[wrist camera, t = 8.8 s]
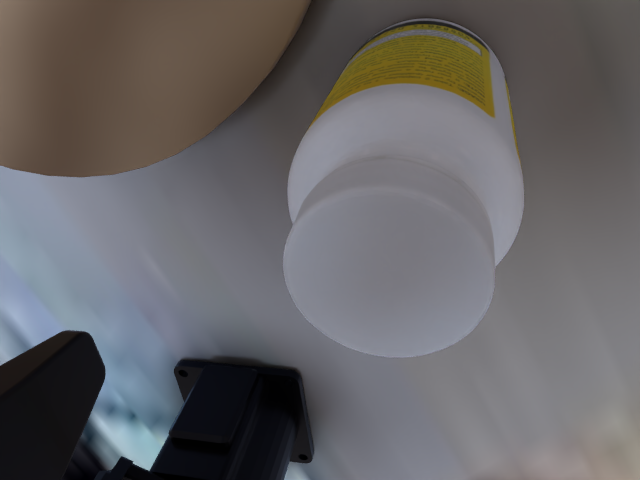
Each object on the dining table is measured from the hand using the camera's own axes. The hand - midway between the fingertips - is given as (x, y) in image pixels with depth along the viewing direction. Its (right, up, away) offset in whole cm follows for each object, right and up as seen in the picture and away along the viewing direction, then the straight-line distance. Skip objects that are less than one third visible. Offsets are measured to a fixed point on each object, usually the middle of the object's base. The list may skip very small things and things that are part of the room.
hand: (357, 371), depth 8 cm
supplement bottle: (+3, +7, +10) cm, 12 cm away
